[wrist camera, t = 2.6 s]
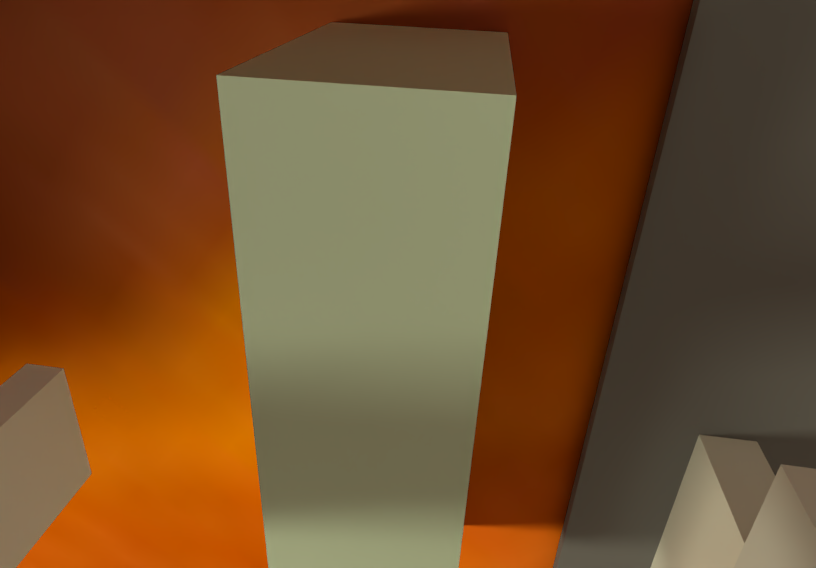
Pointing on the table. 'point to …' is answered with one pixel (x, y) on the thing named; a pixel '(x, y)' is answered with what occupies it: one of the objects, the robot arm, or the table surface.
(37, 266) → the table surface
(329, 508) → the slat
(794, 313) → the mat
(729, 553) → the cap
